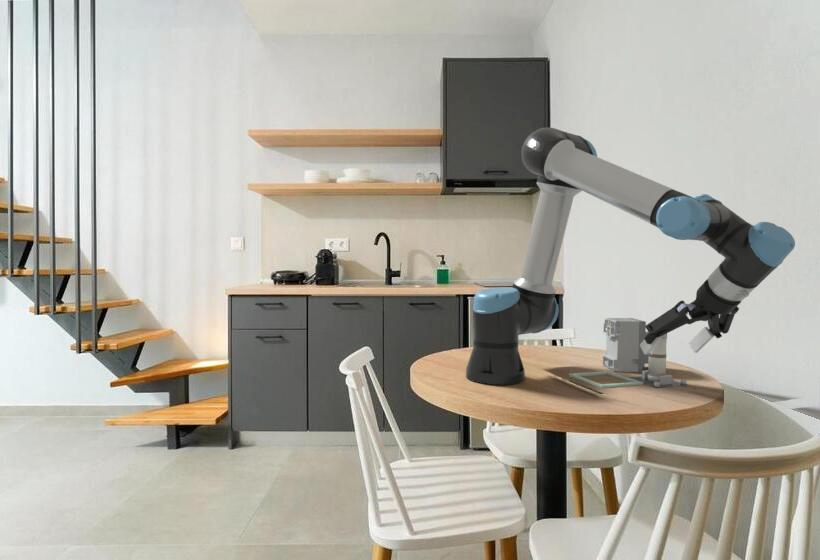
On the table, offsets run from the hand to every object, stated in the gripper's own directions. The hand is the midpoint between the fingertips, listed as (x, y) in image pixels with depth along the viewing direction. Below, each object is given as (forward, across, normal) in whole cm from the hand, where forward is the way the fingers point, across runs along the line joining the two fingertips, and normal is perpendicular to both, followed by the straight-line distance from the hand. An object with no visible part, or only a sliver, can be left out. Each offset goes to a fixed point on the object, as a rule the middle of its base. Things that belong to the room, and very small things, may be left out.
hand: (668, 348), depth 112 cm
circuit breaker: (+19, +3, +4) cm, 19 cm away
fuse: (+8, 0, -4) cm, 9 cm away
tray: (+12, -12, -3) cm, 17 cm away
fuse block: (+9, 0, -5) cm, 10 cm away
